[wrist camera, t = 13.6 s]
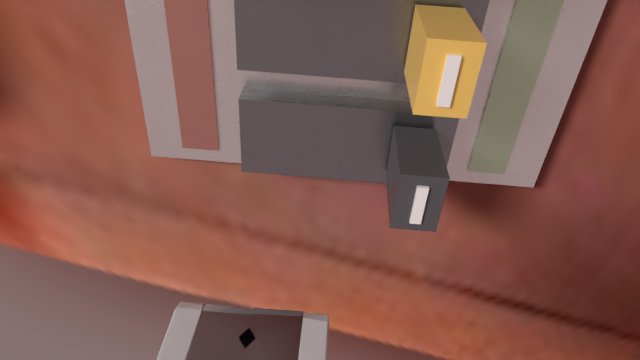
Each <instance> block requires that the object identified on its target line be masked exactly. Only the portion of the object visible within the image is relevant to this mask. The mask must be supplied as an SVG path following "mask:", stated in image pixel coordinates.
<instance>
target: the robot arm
mask: <svg viewBox="0 0 640 360" xmlns="http://www.w3.org/2000/svg"><path fill="white" fill-rule="evenodd" d="M328 331H329V315H328V314H319V313H303V312H302V311H288V310H273V309H259V308H254V309H249V308H240V307H230V306H220V305H211V304H203V303H191V302H180V303H179V304H178V306H177V307H176V309H175V311H174V313H173V316H172V319H171V322H170V324H169V327H168V330H167V332H166V335H165V338H164V341H163V344H162V346H161V349H160V352H159V354H158V357H157V360H327V349H328V348H327V347H328Z"/></svg>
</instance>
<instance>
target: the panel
mask: <svg viewBox="0 0 640 360" xmlns="http://www.w3.org/2000/svg"><path fill="white" fill-rule="evenodd" d="M606 3H607V0H125V6H126V12H127V18H128V23H129V29H130V35H131V41H132V46H133V52H134V58H135V64H136V69H137V75H138V81H139V87H140V92H141V98H142V104H143V109H144V115H145V121H146V127H147V132H148V138H149V144H150V150H151V155H152V156H158V157H171V158H183V159H195V160H207V161H219V162H231V163H241V167H242V171H243V172H255V173H267V174H279V175H291V176H304V177H316V178H328V179H340V180H352V181H364V182H376V183H386V170H387V164H388V158H389V152H390V146H391V140H392V134H393V128H394V126H401V127H414V128H426V129H436V130H437V134H438V137H439V141H440V144H441V148H442V152H443V155H444V159H445V163H446V166H447V170H448V174H449V177H450V180H449V181H461V182H473V183H485V184H498V185H510V186H522V187H534V185H535V182H536V180H537V177H538V175H539V172H540V170H541V167H542V165H543V162H544V160H545V157H546V154H547V152H548V149H549V147H550V144H551V142H552V139H553V137H554V134H555V132H556V129H557V127H558V124H559V122H560V119H561V117H562V114H563V112H564V109H565V106H566V104H567V101H568V99H569V96H570V94H571V91H572V89H573V86H574V84H575V81H576V79H577V76H578V74H579V71H580V69H581V66H582V63H583V61H584V58H585V56H586V53H587V51H588V48H589V46H590V43H591V41H592V38H593V36H594V33H595V31H596V28H597V26H598V23H599V21H600V18H601V15H602V13H603V10H604V8H605V5H606ZM415 4H416V5H429V6H442V7H455V8H465V9H466V10H467V12H468V14H469V15H470V17H471V18H472V20H473V22H474V23H475V25H476V26H477V28H478V29H479V31H480V33H481V34H482V36H483V37H484V39H485V40H486V42H487V45H486V49H485V53H484V56H483V60H482V64H481V67H480V71H479V75H478V79H477V82H476V86H475V90H474V94H473V97H472V101H471V105H470V109H469V112H468V116H467V119H463V118H450V117H438V116H425V115H413V113H412V108H411V103H410V98H409V93H408V89H407V84H406V79H405V74H404V69H405V63H406V57H407V51H408V46H409V40H410V34H411V28H412V22H413V16H414V10H415Z"/></svg>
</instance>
